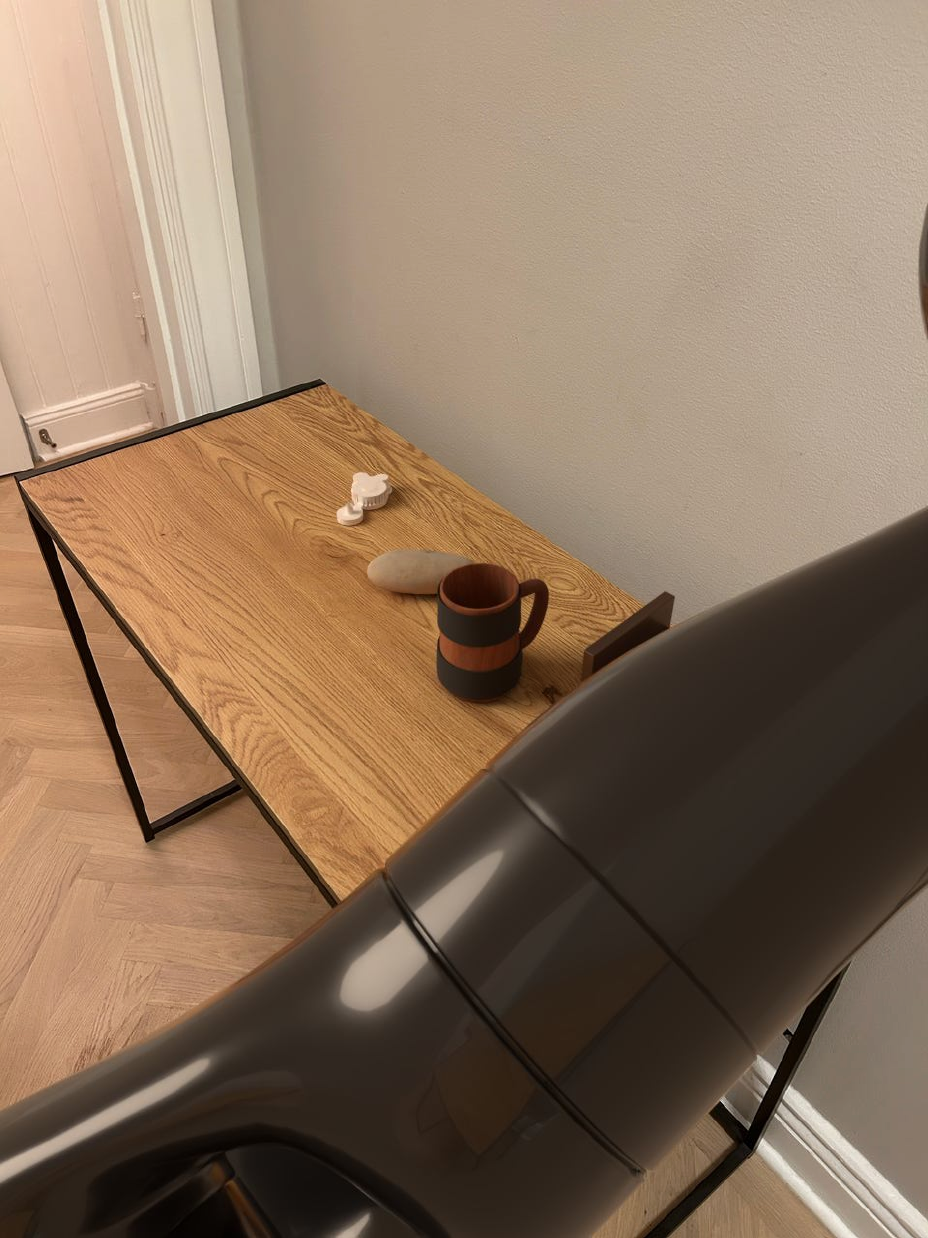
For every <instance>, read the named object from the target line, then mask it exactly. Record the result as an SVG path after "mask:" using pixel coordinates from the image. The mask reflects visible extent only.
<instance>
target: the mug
mask: <svg viewBox="0 0 928 1238" xmlns="http://www.w3.org/2000/svg"><path fill="white" fill-rule="evenodd" d="M533 594H534V595H533ZM436 595H437V610H436V611H437V612H436V613H437V614H436V615H437V616H436V624H437V627H438V630H439V635H438V638H437V643H436V665H435V666H436V675H437V679H438V681H439V683H440V684H441V685H442V687H443V688H444V689H446V691H447V692H448V693H450V695H452V696H454V697H456V698H457V699H460V700H461V701H465V702H470V703H477V704H478V703H482V704H483V703H489V702H494V701H497V700H500V699H503V697H505V696H507V695H508V694H509V693H510V692H511V691H512V690H514V689H515V688H516V687H517V685H518V684H519V682H520V681H521V678H522V674H523V662H524V661H523V659H524V658H523V657H524V655H523V654H524V653H523V650H524V649H526V648H527V647H529V646H530V645H531V644H532V643H533V642H534V641H535V639H536V637H537V636H538V634H539V632H540V630H541V628H542V626H543V623H544V621H545V618H546V616H547V611H548V607H549V601H550V600H549V599H550V591H549V587H548V585H547V584H546V582H545V581H543V580H542V579H539V578H530V579H527V580H525V581H522V582H519V580H518V578H517V577H516V575H515V574H513V572H511V571H510V570H509V569H507V568H505V567H503V566H500V565H497V564H494V563H489V562H474V563H472V564H466V565H463V566H460V567H457V568H455V569H453V570H452V571H450V572H449V573H447V574H446V575H445V576H444V578H443V579H442V580H441V582H440V583H439V585H438V589H437V594H436ZM531 595H533V602H532V606H531V610H530V613H529V615H528V618H527V620H526V622H525V624H524V626H523V628H522V629H521V628H520V627H521V625H522V599H523V598H526V597H528V596H531ZM520 629H521V631H520Z"/></svg>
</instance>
